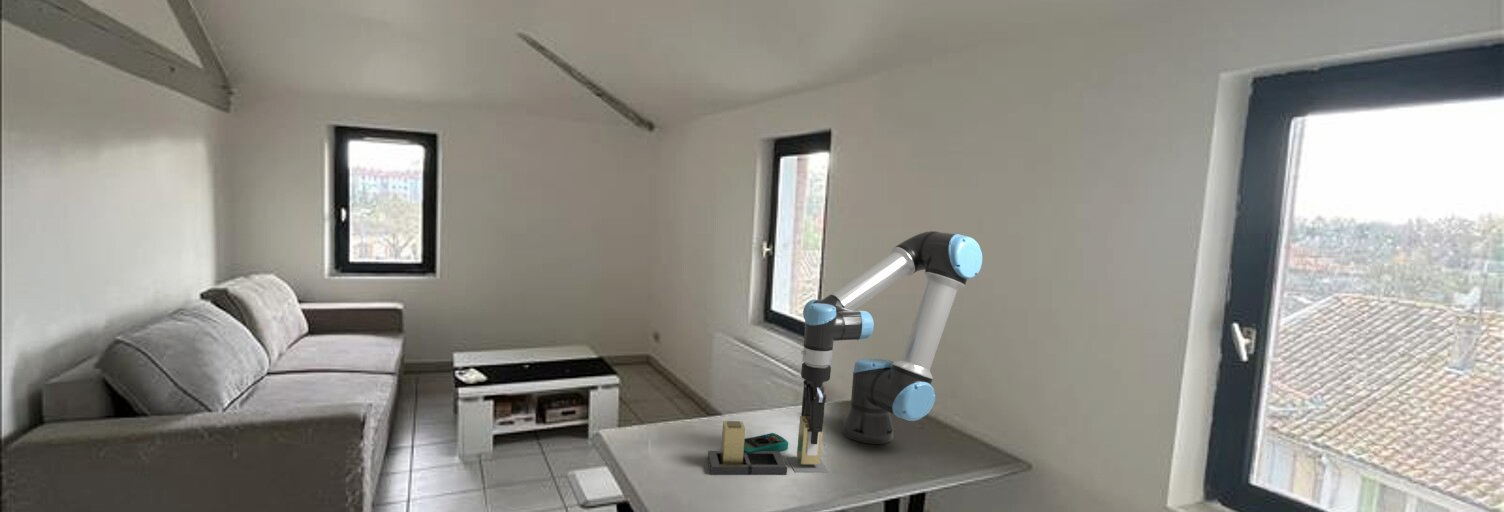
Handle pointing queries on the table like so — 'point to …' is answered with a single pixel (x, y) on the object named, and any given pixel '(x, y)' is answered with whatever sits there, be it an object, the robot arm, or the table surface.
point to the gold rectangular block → (732, 443)
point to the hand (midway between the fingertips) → (809, 450)
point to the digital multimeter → (765, 443)
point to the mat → (807, 466)
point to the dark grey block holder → (749, 464)
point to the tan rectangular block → (803, 441)
